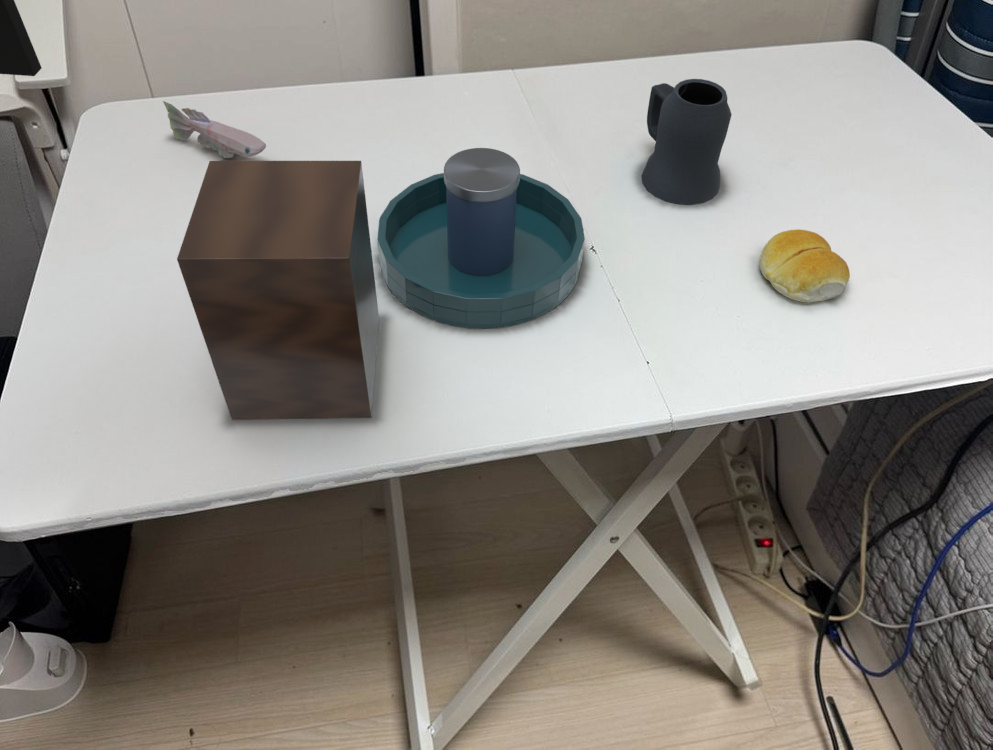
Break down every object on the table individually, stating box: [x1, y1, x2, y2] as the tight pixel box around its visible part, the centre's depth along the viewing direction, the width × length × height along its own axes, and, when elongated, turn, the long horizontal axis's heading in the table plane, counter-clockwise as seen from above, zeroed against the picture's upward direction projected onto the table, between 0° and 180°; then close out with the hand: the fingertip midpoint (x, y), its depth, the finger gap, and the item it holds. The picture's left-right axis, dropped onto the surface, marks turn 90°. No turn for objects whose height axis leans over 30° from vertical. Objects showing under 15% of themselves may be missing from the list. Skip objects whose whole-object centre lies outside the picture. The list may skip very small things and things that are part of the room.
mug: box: [640, 78, 733, 206], centre depth 93 cm, size 12×9×11 cm
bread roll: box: [758, 229, 851, 303], centre depth 84 cm, size 8×9×4 cm
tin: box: [443, 147, 521, 276], centre depth 82 cm, size 7×7×10 cm
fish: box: [162, 100, 267, 159], centre depth 96 cm, size 3×14×5 cm, turn 63°
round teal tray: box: [376, 172, 586, 330], centre depth 85 cm, size 21×21×4 cm
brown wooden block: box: [176, 160, 380, 421], centre depth 69 cm, size 12×12×18 cm
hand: (72, 5), depth 43 cm, fingers open, 13 cm apart
